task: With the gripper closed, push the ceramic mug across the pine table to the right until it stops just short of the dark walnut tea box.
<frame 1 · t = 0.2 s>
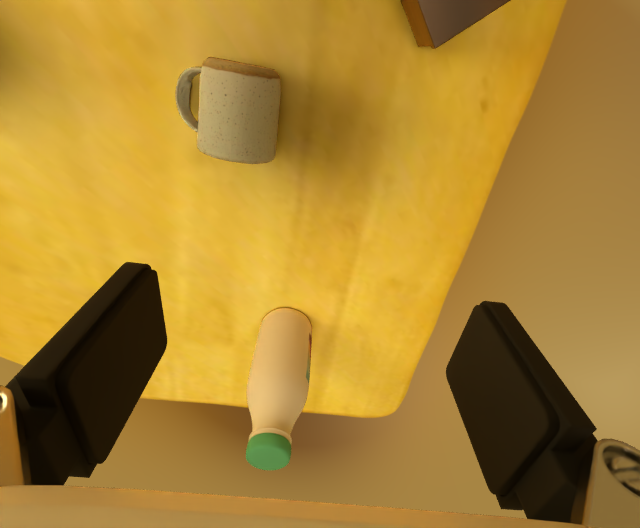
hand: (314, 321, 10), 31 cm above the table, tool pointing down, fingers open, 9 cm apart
milk bottle: (286, 325, 52), on the table
ceramic mug: (234, 106, 36), on the table
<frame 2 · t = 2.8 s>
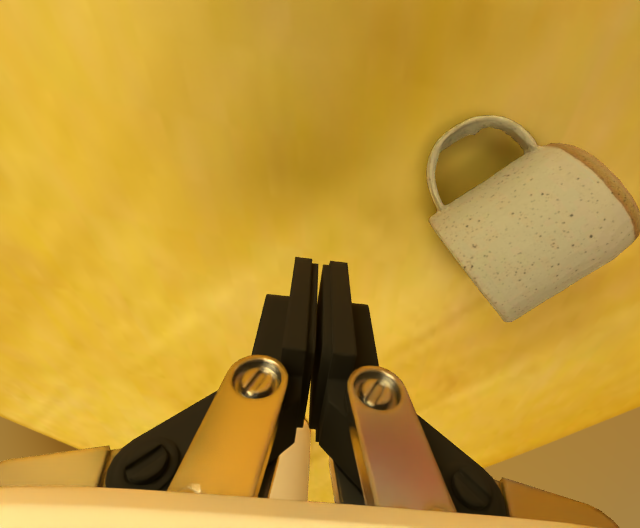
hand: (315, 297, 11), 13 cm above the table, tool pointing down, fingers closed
milk bottle: (275, 425, 37), on the table
ceramic mug: (482, 194, 23), on the table
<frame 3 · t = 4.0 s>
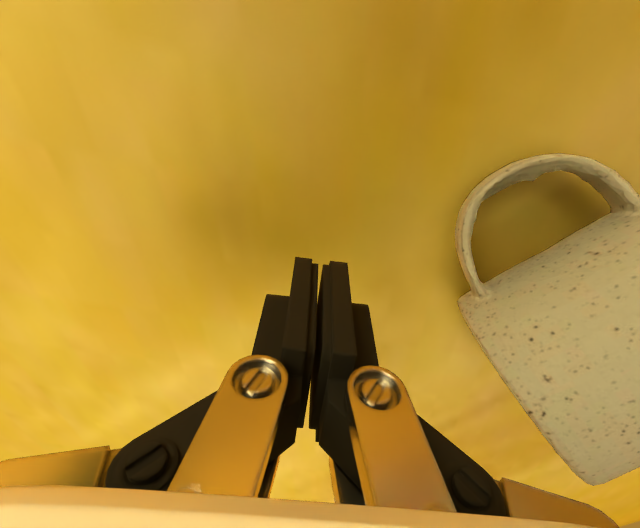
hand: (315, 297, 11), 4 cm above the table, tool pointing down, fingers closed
ceramic mug: (532, 258, 16), on the table
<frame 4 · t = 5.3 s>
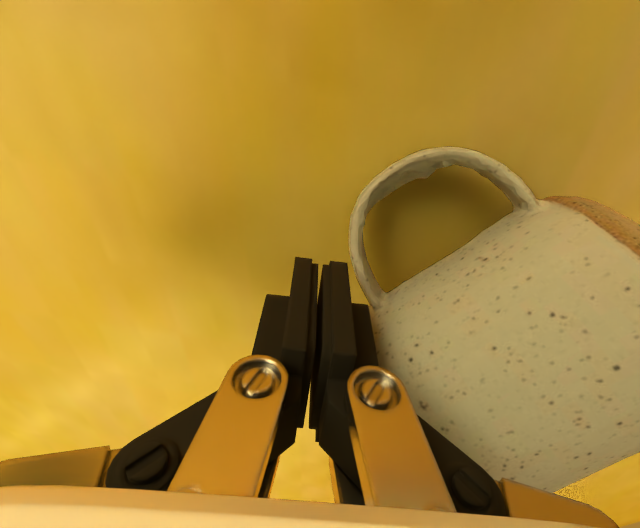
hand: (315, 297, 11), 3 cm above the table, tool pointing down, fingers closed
ceramic mug: (450, 262, 14), on the table, touching gripper
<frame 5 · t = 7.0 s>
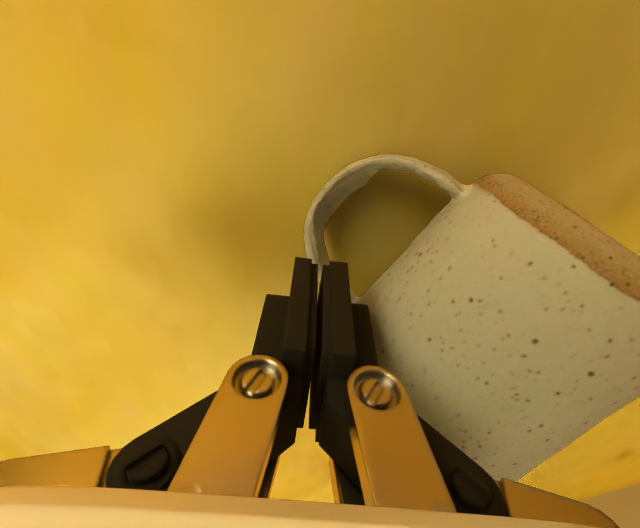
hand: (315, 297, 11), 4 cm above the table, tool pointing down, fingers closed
ceramic mug: (425, 253, 15), on the table, touching gripper
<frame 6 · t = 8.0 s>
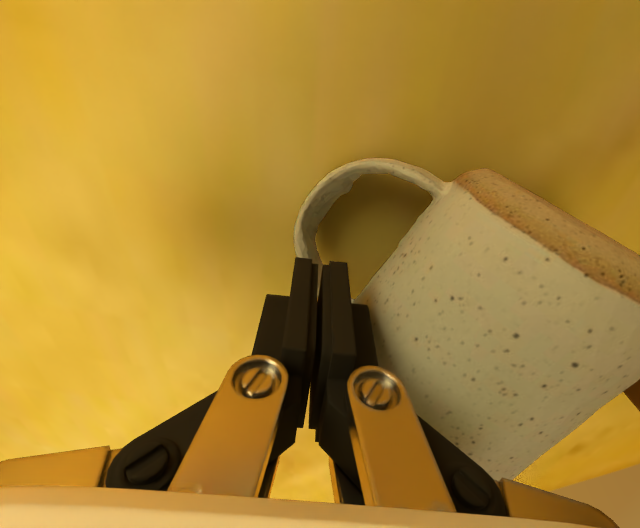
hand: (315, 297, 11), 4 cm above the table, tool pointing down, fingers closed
ceramic mug: (418, 251, 15), on the table, touching gripper
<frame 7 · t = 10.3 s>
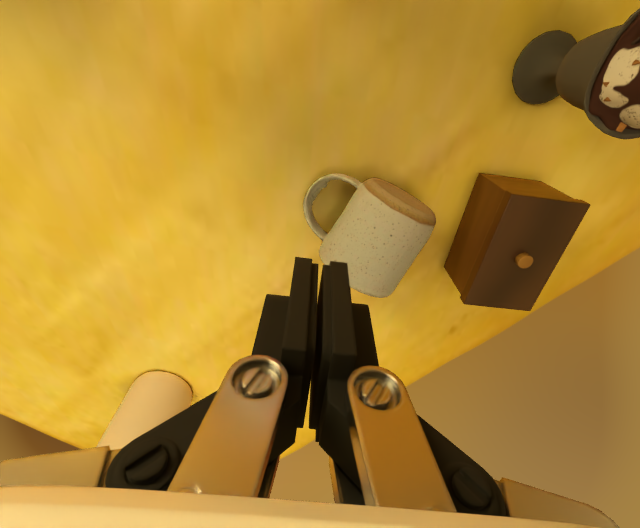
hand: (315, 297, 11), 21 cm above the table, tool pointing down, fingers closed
milk bottle: (164, 388, 45), on the table
sundae: (544, 69, 27), on the table
tea box: (489, 227, 33), on the table
ceramic mug: (357, 214, 33), on the table
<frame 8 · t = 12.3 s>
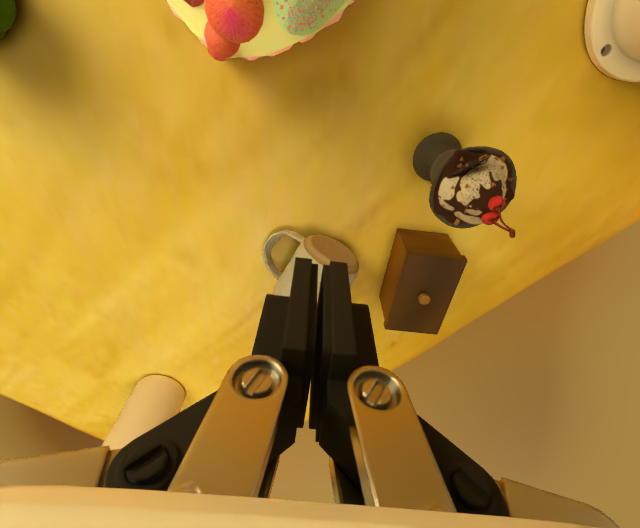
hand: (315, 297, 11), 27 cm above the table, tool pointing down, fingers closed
milk bottle: (162, 388, 55), on the table
sundae: (436, 157, 36), on the table
tea box: (411, 267, 42), on the table
ceramic mug: (307, 257, 42), on the table
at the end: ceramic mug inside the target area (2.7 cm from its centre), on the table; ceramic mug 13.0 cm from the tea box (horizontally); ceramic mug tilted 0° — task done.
